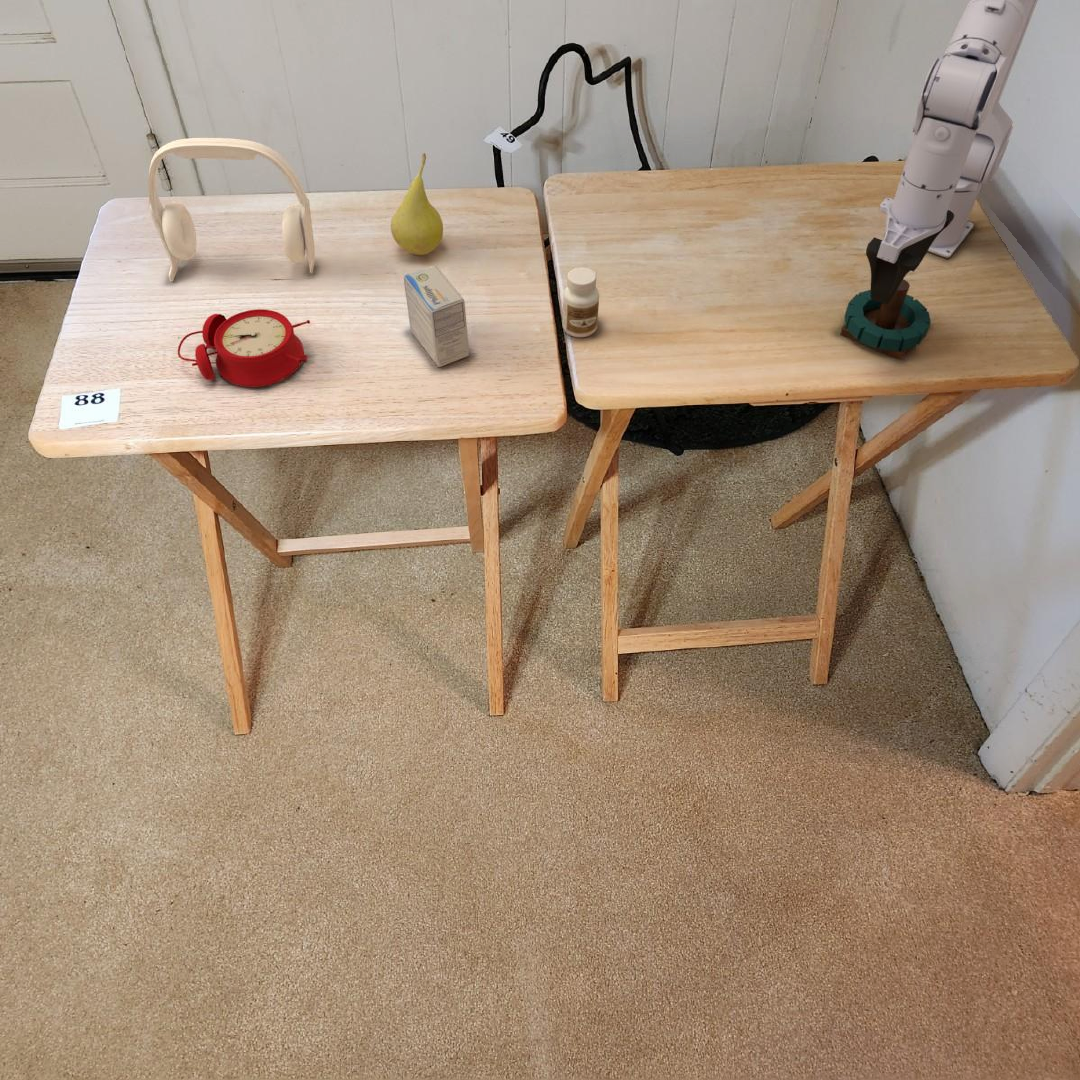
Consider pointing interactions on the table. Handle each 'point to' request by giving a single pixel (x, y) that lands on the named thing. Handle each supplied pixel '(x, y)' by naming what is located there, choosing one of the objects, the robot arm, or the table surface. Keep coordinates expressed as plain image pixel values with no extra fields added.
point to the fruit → (417, 220)
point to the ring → (887, 337)
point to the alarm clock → (249, 348)
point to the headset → (178, 221)
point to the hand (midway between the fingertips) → (893, 283)
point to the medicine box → (437, 315)
